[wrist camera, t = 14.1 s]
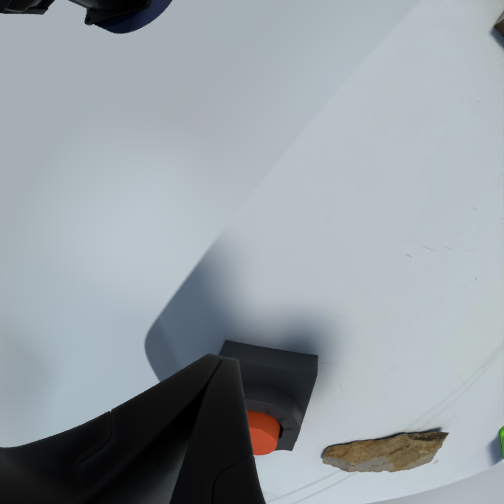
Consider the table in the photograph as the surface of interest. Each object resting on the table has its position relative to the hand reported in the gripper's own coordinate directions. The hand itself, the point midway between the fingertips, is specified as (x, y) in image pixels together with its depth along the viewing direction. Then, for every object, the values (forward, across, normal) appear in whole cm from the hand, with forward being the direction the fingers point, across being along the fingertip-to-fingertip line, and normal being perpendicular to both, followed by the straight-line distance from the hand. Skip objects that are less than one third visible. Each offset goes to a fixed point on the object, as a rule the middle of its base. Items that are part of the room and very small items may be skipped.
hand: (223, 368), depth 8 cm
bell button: (+8, -1, +13) cm, 15 cm away
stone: (+12, -14, +19) cm, 27 cm away
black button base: (+12, -1, +13) cm, 18 cm away
